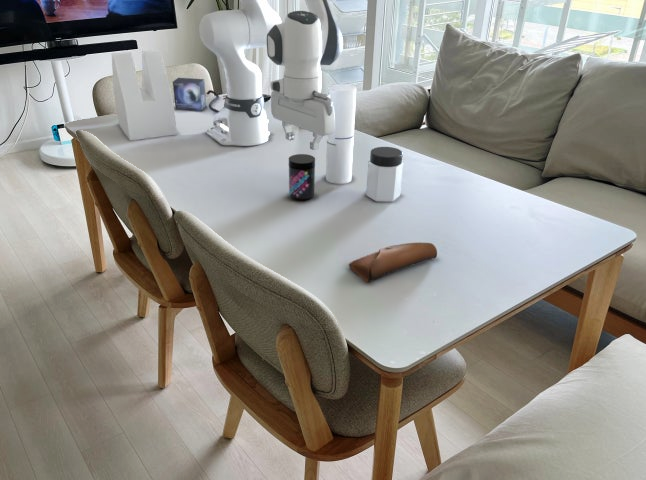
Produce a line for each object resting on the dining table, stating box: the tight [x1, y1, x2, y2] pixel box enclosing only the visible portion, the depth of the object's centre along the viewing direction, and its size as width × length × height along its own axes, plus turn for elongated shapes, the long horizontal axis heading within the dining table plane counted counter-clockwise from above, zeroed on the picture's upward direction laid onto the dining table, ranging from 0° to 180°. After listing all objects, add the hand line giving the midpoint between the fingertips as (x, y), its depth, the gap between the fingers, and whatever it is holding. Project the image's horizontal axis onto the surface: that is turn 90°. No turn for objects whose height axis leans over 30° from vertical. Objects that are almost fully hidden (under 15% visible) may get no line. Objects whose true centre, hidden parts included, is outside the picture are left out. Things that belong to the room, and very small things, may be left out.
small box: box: [172, 77, 207, 112], centre depth 221 cm, size 11×6×10 cm, turn 80°
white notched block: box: [111, 49, 178, 141], centre depth 195 cm, size 19×15×25 cm
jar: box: [365, 146, 404, 203], centre depth 152 cm, size 9×8×12 cm
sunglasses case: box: [348, 241, 438, 283], centre depth 123 cm, size 18×7×7 cm
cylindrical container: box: [325, 83, 357, 185], centre depth 158 cm, size 7×7×25 cm
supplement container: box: [288, 153, 316, 202], centre depth 151 cm, size 7×7×10 cm
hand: (302, 144), depth 146 cm, fingers open, 8 cm apart
